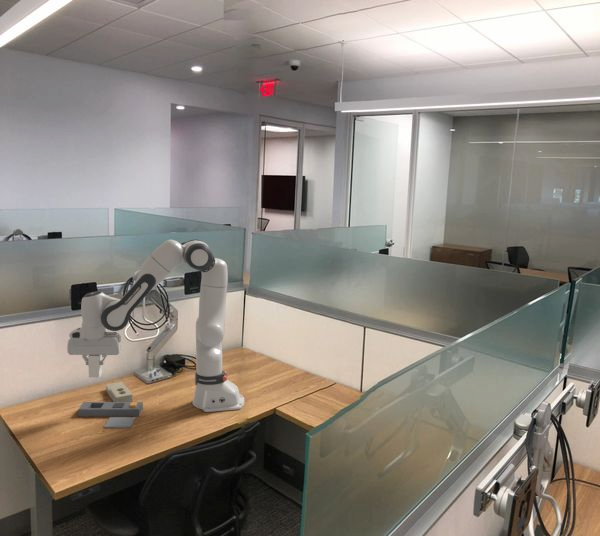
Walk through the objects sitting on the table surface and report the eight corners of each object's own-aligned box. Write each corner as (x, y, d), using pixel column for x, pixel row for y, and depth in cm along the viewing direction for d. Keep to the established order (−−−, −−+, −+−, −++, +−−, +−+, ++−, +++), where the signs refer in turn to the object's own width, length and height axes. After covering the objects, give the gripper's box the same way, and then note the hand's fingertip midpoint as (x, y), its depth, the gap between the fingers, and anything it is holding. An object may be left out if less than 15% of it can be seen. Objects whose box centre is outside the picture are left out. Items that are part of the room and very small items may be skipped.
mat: (135, 418, 207) (135, 417, 207) (130, 428, 199) (130, 426, 199) (110, 418, 206) (110, 417, 206) (104, 428, 199) (104, 426, 198)
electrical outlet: (121, 379, 236) (132, 393, 222) (122, 388, 237) (132, 402, 222) (105, 382, 232) (115, 397, 218) (105, 391, 233) (115, 406, 218)
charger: (102, 373, 211) (101, 349, 209) (99, 377, 207) (98, 352, 205) (92, 373, 210) (91, 348, 209) (88, 377, 206) (87, 352, 205)
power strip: (142, 408, 216) (142, 400, 216) (139, 416, 209) (139, 407, 209) (84, 408, 214) (83, 400, 214) (78, 416, 207) (78, 407, 207)
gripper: (122, 329, 209) (123, 362, 212) (70, 329, 208) (72, 361, 210) (118, 334, 203) (119, 367, 206) (65, 333, 201) (66, 367, 204)
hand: (95, 364), depth 208 cm, fingers closed on charger, 4 cm apart
